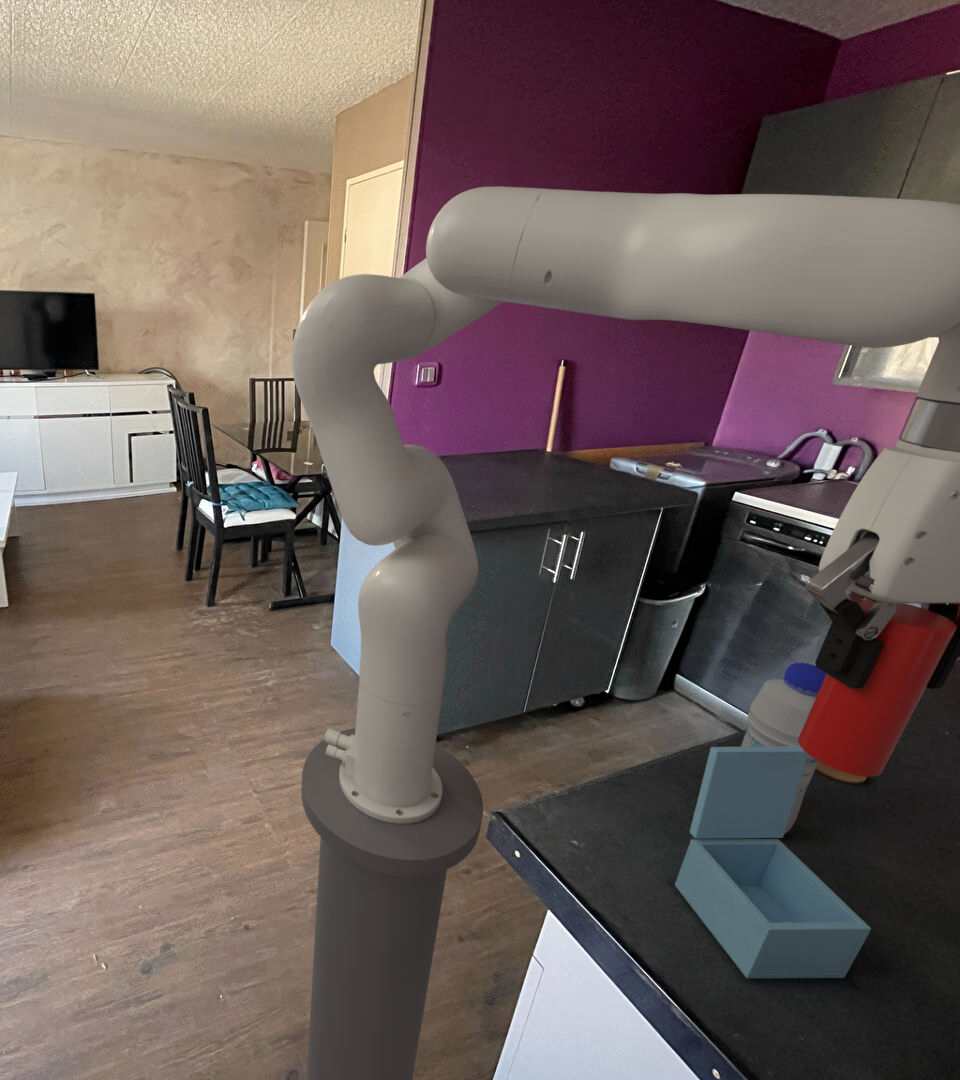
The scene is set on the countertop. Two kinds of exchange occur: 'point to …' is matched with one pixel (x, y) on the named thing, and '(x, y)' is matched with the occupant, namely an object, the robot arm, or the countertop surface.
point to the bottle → (785, 718)
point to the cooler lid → (748, 792)
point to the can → (877, 695)
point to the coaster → (839, 774)
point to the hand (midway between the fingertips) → (875, 675)
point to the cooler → (770, 909)
